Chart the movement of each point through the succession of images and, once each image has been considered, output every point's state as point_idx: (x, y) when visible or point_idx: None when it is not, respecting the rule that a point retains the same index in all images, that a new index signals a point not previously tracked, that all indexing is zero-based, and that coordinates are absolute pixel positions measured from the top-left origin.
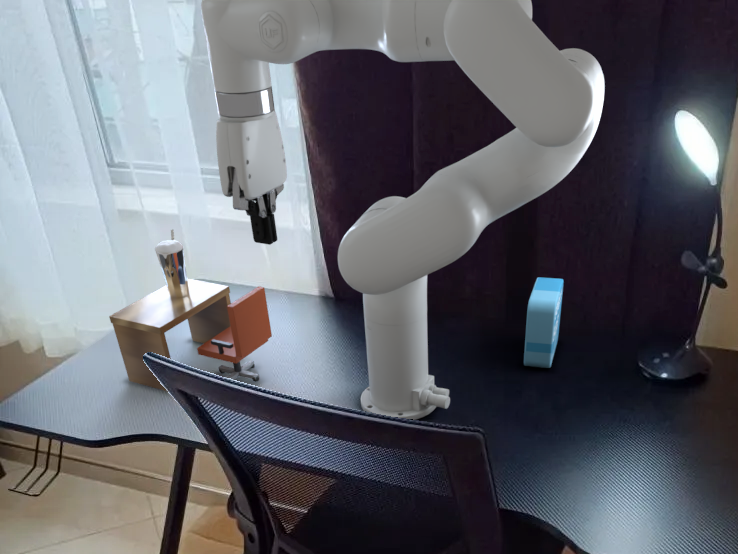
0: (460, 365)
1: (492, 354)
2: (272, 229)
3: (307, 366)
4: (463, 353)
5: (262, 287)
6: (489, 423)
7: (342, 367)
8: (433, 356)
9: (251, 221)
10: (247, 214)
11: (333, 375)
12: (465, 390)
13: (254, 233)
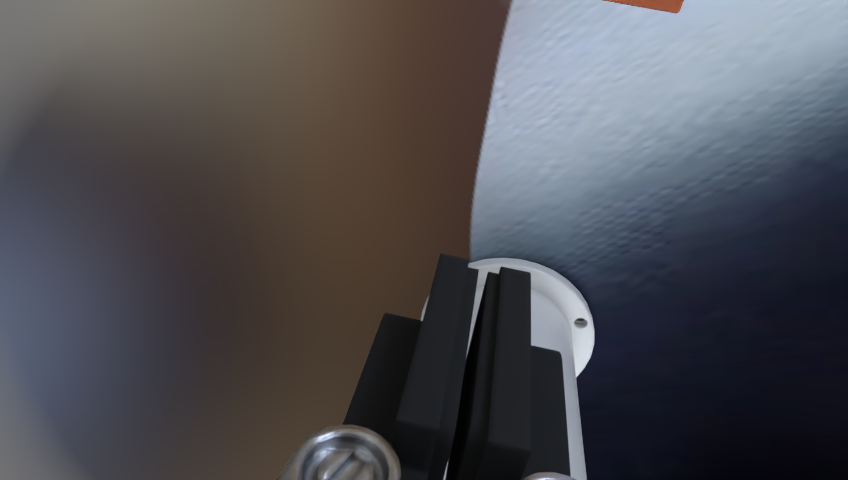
0: (697, 409)
1: (756, 457)
2: (448, 461)
3: (667, 53)
4: (762, 409)
5: (676, 3)
6: None
7: (668, 160)
8: (745, 355)
9: (411, 367)
10: (304, 445)
11: (616, 151)
12: (581, 425)
13: (376, 334)
